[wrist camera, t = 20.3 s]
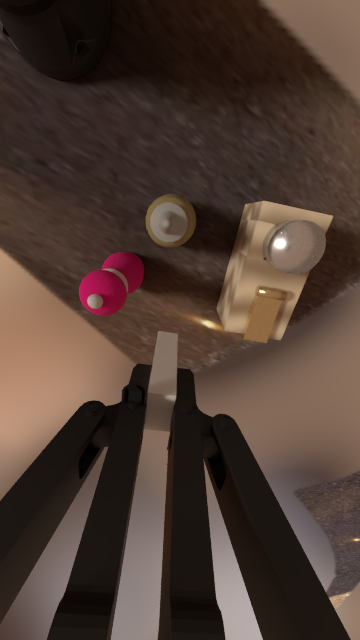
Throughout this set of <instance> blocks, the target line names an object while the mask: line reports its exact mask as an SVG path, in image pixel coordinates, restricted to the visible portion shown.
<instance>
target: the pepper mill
mask: <svg viewBox="0 0 360 640" xmlns="http://www.w3.org/2000/svg"><path fill="white" fill-rule="evenodd" d="M143 278H144V265H143V262H142V260H141V259H140V258H139V257H138V256H137V255H136V254H134V253H131V252H118V253H115V254H112V255H111V256H109V257H108V258H107V259H106V261H105V262H104V264H103V267H102V270H96V271H93V272H91V273H89V274H88V275H87V276H86V277H85V278H84V279H83V280H82V282H81V284H80V288H79V296H80V300H81V302H82V304H83V305H84V307H85V308H86V309H87V310H89V311H90V312H92V313H94V314H97V315H103V316H105V315H111V314H114V313H116V312H117V311H118V310H120V309H121V308H122V307H123V305H124V304H125V301H126V298H127V294H128V293H131V292H133V291H135V290H136V289H137V288H138V287H139V286H140V285H141V283H142V281H143Z"/></svg>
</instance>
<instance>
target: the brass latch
mask: <svg viewBox="0 0 360 640" xmlns="http://www.w3.org/2000/svg"><path fill="white" fill-rule="evenodd" d="M286 298H287V291H285V290H280V289H275V288H270V287H264V286H259V285H258V286H257V288H256V290H255V297H254V300H253V304H252V307H251V310H250V313H249V316H248V319H247V322H246V325H245V328H244V331H243V334H242V337H243V339H246V340H252V341H258V342H263V343H267V340H268V337H269V335H270V332H271V329H272V327H273V324H274V321H275V319H276V316H277V313H278V310H279V308H280V305H281V302H282V301H285V300H286Z"/></svg>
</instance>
